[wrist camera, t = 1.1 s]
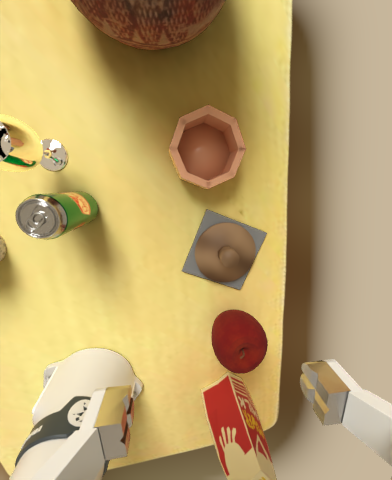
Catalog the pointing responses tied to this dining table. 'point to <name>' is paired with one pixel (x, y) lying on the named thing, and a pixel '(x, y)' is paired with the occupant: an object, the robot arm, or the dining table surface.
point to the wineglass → (27, 148)
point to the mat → (208, 221)
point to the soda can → (55, 213)
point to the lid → (225, 252)
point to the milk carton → (237, 430)
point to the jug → (150, 20)
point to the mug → (2, 248)
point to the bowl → (207, 147)
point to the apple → (238, 341)
